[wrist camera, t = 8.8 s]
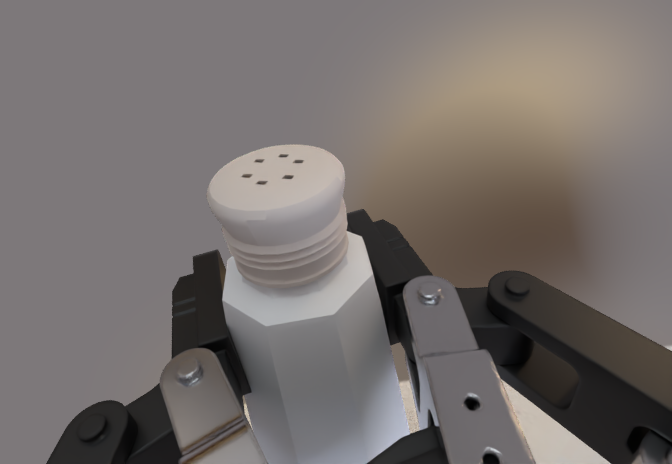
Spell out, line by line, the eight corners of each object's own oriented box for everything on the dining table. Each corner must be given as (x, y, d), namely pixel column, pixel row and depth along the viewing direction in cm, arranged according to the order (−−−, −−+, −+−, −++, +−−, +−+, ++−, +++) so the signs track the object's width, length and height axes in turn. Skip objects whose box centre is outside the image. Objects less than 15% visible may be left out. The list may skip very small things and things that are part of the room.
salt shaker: (403, 555, 12) (382, 274, 6) (236, 507, 14) (65, 243, 7) (424, 388, 16) (426, 113, 10) (293, 366, 18) (218, 116, 11)
